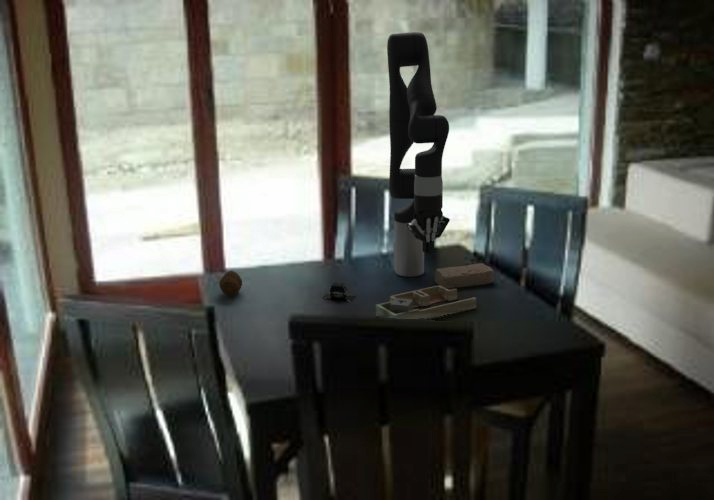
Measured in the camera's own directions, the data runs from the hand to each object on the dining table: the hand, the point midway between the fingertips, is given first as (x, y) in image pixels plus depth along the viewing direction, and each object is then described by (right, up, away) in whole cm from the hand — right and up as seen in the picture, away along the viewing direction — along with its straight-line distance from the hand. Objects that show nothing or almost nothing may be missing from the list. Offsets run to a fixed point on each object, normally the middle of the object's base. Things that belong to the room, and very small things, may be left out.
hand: (428, 253), depth 223 cm
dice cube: (-7, -18, 0) cm, 19 cm away
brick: (+13, -9, +28) cm, 33 cm away
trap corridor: (-1, -16, +7) cm, 17 cm away
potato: (-57, -12, +23) cm, 62 cm away
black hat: (-25, -14, +18) cm, 33 cm away
